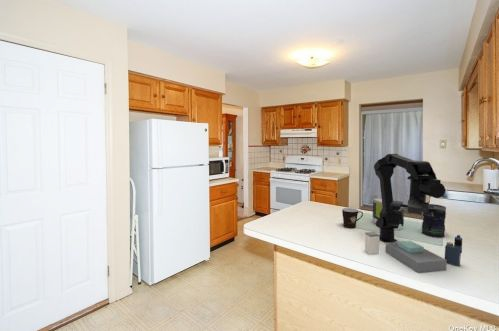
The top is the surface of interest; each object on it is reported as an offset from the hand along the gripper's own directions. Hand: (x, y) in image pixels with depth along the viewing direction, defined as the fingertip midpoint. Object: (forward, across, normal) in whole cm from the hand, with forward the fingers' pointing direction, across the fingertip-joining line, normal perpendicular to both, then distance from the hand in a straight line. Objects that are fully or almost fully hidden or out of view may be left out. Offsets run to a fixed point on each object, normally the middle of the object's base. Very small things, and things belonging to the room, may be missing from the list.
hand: (415, 228), depth 105 cm
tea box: (+14, -17, +37) cm, 43 cm away
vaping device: (+13, +13, +3) cm, 18 cm away
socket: (+13, 0, -3) cm, 13 cm away
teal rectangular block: (+9, -1, -2) cm, 9 cm away
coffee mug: (+14, -32, +24) cm, 42 cm away
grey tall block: (+13, -15, -5) cm, 21 cm away
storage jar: (+14, +4, +36) cm, 39 cm away
